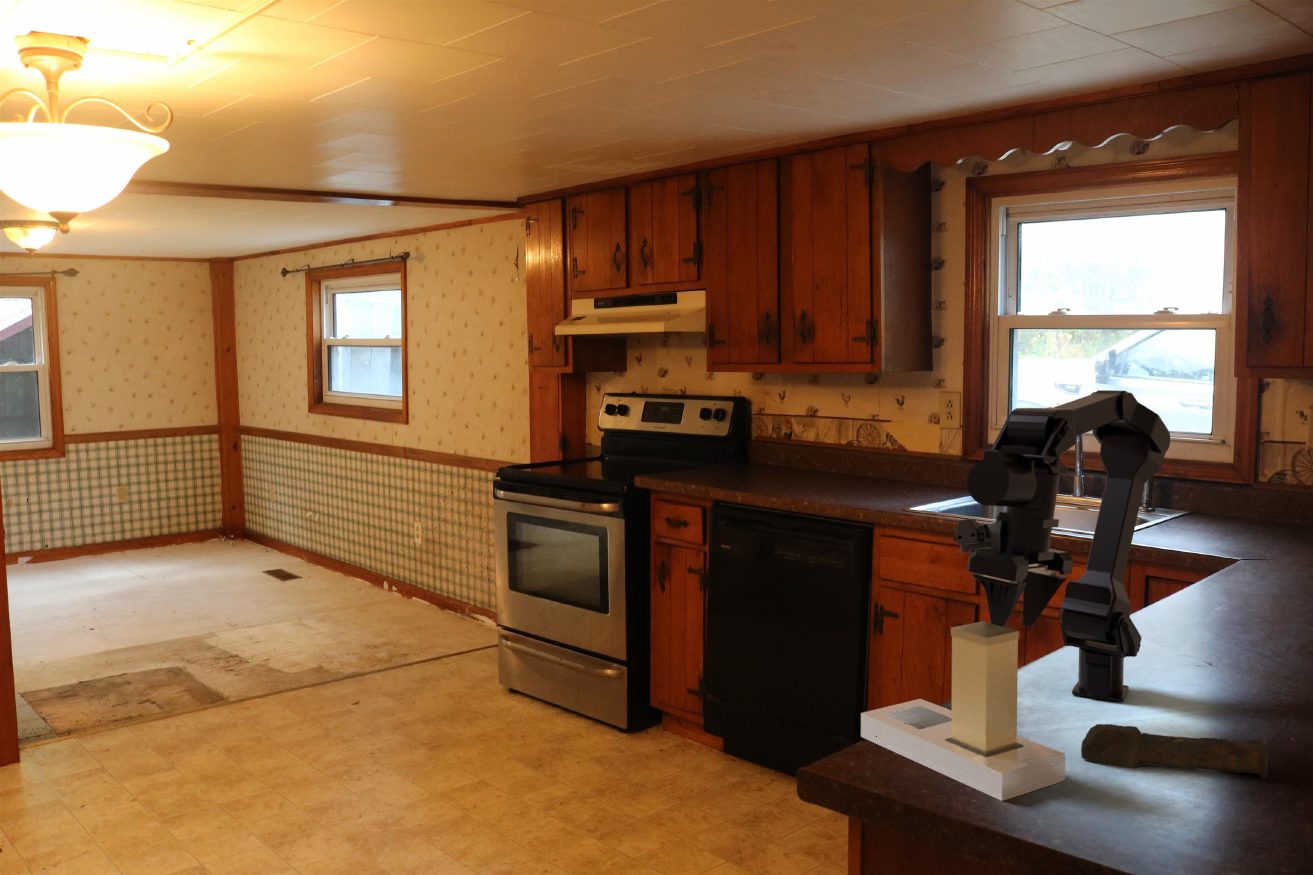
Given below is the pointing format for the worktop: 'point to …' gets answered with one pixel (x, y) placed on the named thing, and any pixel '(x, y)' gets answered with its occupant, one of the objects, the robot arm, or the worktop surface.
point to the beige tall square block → (984, 686)
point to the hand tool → (1172, 750)
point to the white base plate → (962, 751)
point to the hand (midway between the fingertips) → (1012, 629)
